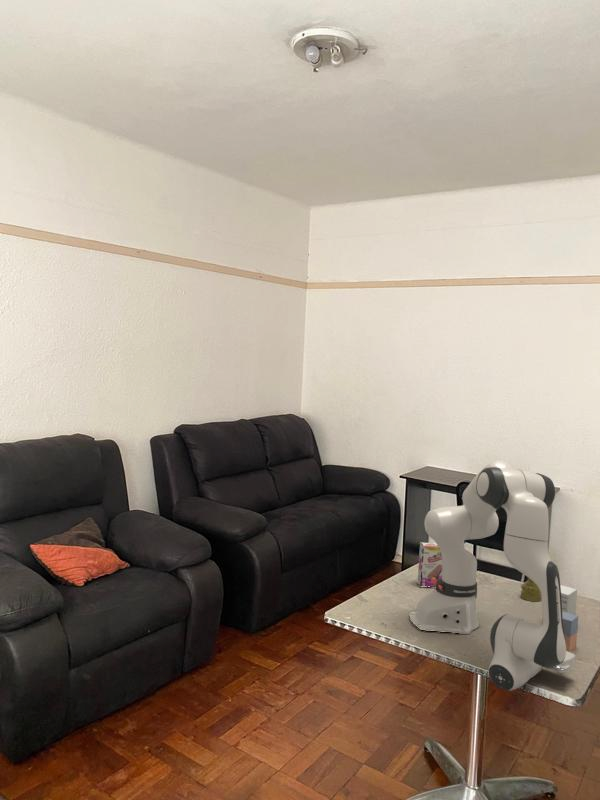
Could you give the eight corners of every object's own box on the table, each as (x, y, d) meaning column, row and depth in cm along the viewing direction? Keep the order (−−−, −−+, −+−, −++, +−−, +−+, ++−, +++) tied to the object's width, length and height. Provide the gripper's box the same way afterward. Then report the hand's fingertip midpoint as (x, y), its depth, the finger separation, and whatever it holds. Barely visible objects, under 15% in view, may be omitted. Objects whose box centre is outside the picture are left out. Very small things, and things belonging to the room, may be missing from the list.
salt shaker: (535, 594, 239) (537, 568, 238) (545, 601, 231) (547, 575, 231) (516, 594, 238) (518, 568, 237) (526, 602, 230) (528, 575, 230)
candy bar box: (420, 588, 241) (422, 545, 240) (417, 583, 246) (419, 542, 245) (449, 588, 242) (451, 546, 240) (445, 583, 247) (447, 542, 245)
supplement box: (553, 619, 216) (555, 583, 215) (575, 626, 211) (578, 589, 210) (543, 625, 211) (546, 588, 210) (566, 632, 205) (568, 594, 205)
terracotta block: (569, 653, 191) (570, 637, 191) (551, 647, 195) (552, 631, 194) (576, 647, 195) (577, 631, 195) (558, 641, 199) (559, 626, 198)
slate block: (570, 637, 190) (571, 621, 190) (552, 631, 194) (553, 615, 194) (577, 631, 194) (578, 616, 194) (559, 626, 198) (560, 610, 198)
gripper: (565, 660, 168) (584, 644, 178) (493, 634, 182) (515, 621, 192) (564, 683, 168) (583, 666, 178) (492, 656, 182) (513, 641, 192)
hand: (547, 642), depth 185 cm, fingers open, 8 cm apart
